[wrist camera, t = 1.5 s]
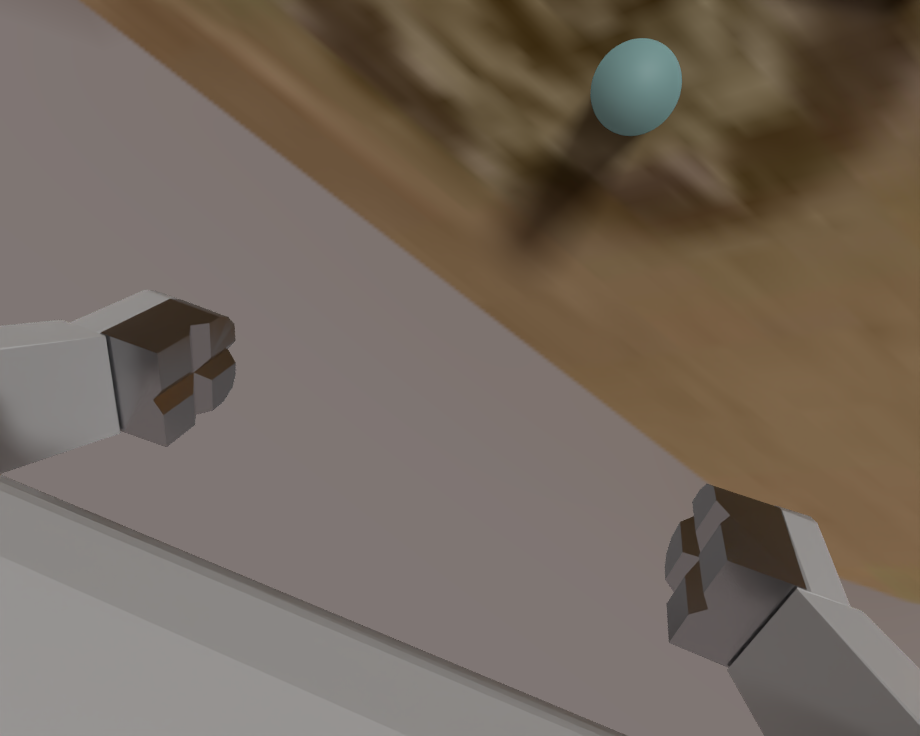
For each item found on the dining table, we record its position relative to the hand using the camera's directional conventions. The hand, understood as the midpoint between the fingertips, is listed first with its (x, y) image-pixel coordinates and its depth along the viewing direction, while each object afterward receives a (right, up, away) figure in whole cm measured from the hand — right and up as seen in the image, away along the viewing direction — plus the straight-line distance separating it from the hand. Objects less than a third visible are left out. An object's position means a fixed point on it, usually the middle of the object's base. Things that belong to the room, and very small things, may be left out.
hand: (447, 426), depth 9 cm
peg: (+10, +17, +22) cm, 30 cm away
